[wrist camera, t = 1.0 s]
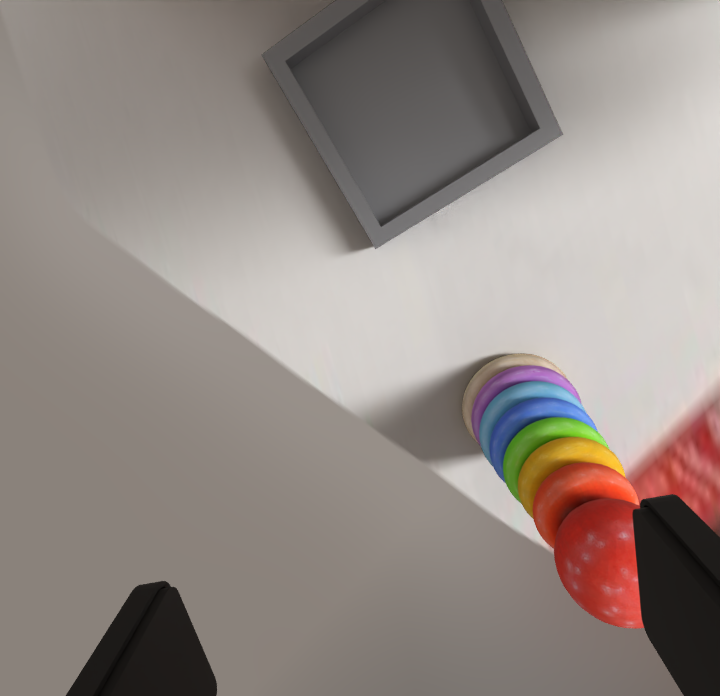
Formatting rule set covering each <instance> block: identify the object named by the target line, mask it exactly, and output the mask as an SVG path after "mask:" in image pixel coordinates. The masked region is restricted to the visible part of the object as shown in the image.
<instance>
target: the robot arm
mask: <svg viewBox="0 0 720 696" xmlns="http://www.w3.org/2000/svg"><path fill="white" fill-rule="evenodd" d="M632 517H633V528H634V539H635V551H636V562H637V573H638V585H639V596H640V607H641V617H642V622H643V626H644V628H645V631H646V633H647V635H648V638H649V639H650V641H651V643H652V644H653V646H654V648H655V649H656V651H657V653H658V654H659V656H660V657H661V659H662V661H663V662H664V664H665V666H666V667H667V669H668V671H669V672H670V674H671V675H672V677H673V679H674V680H675V682H676V684H677V685H678V687H679V688H680V690H681V692H682V693H683V695H684V696H720V537H719V536H718V535H717V534H716V533H715V532H714V531H713V530H712V529H711V528H710V527H709V526H708V525H707V524H706V523H705V522H704V521H703V520H702V519H701V518H700V517H699V516H698V515H697V514H695V513H694V512H693V511H692V510H691V509H690V508H689V507H688V506H687V505H686V504H685V503H684V502H683V501H682V500H681V499H680V498H679V497H678V496H677V495H673V494H671V495H666V496H660V497H654V498H648V499H643V500H641V503H640V508H638V509H634V510H633V512H632ZM216 694H217V683H216V679H215V676H214V674H213V672H212V669H211V667H210V665H209V662H208V660H207V658H206V655H205V653H204V651H203V648H202V646H201V644H200V641H199V639H198V636H197V634H196V632H195V629H194V627H193V625H192V622H191V620H190V618H189V616H188V613H187V611H186V608H185V606H184V604H183V602H182V599H181V597H180V594H179V592H178V590H177V589H176V588H175V587H171V586H170V585H169V583H167V582H166V581H161V582H155V583H149V584H143V585H139V586H137V587H135V589H134V590H133V591H132V592H131V594H130V596H129V597H128V599H127V600H126V602H125V603H124V605H123V606H122V608H121V610H120V611H119V613H118V614H117V616H116V618H115V619H114V621H113V622H112V624H111V625H110V627H109V628H108V630H107V632H106V633H105V635H104V636H103V638H102V639H101V641H100V643H99V644H98V646H97V647H96V649H95V651H94V652H93V654H92V655H91V657H90V659H89V660H88V662H87V663H86V665H85V666H84V668H83V669H82V671H81V673H80V674H79V676H78V678H77V679H76V681H75V682H74V684H73V685H72V687H71V688H70V690H69V691H68V693H67V695H66V696H216Z"/></svg>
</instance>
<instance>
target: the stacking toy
mask: <svg viewBox="0 0 720 696" xmlns="http://www.w3.org/2000/svg"><path fill="white" fill-rule="evenodd" d="M462 412H463V419H464V422H465V425H466V427H467V430H468V431H469V433H470V435H471V436H472V437H473V438H474V440H475V441H476V442H477V443H478V444H479V445H480V446H481V448H482V450H483V453H484V455H485V457H486V458H487V460H488V461H489V463H490V464H491V465H492V466H493V467H494V469H495V471H496V473H497V474H498V476H499V477H500V478H501V479H502V480H503V481H504V482H505V483H506V484H507V487H508V489H509V490H510V492H511V493H512V495H513V496H514V497H515V498H516V499H517V500H518V501H519V502H520V503H521V504H522V505H523V507H524V509H525V510H526V511H527V513H528V514H529V515H530V516H531V517H532V518H533V519H534V522H535V525H536V528H537V530H538V532H539V533H540V535H541V536H542V538H543V539H544V540H545V541H546V543H547V544H549V545H550V546H551V547H552V548H554V556H555V563H556V567H557V571H558V574H559V577H560V579H561V581H562V583H563V585H564V587H565V588H566V590H567V591H568V593H569V594H570V595H571V597H572V598H573V599H574V600H575V602H576V603H577V604H578V605H579V606H580V607H581V608H583V609H584V610H585V611H587V612H588V613H589V614H591V615H592V616H594V617H595V618H597V619H599V620H601V621H603V622H605V623H608V624H611V625H615V626H618V627H624V628H644V626H643V622H642V617H641V607H640V596H639V585H638V573H637V562H636V551H635V539H634V528H633V517H632V512H633V510H634V509H638V508H640V506H639V501H638V497H637V495H636V493H635V490H634V489H633V487H632V485H631V484H630V483H629V481H628V480H627V479H626V478H625V473H624V470H623V467H622V465H621V463H620V461H619V460H618V458H617V457H616V455H615V454H614V453H613V452H612V451H610V450H609V447H608V445H607V444H606V442H605V440H604V439H603V437H602V436H601V435H600V434H599V433H598V431H597V429H596V426H595V424H594V423H593V421H592V420H591V418H590V417H589V416H588V415H587V414H586V412H585V410H584V408H583V406H582V404H581V400H580V397H579V395H578V393H577V391H576V389H575V388H574V387H573V385H572V384H571V383H570V382H569V381H568V379H567V378H566V376H565V375H564V373H563V372H562V371H561V370H560V369H559V368H558V367H557V366H556V365H554V364H553V363H552V362H550V361H548V360H547V359H545V358H542V357H539V356H536V355H532V354H511V355H506V356H503V357H499V358H497V359H495V360H493V361H491V362H489V363H488V364H486V365H485V366H484V367H482V368H481V369H480V370H479V371H478V372H477V373H476V374H475V375H474V376H473V378H472V379H471V381H470V382H469V384H468V386H467V388H466V390H465V393H464V397H463V403H462Z"/></svg>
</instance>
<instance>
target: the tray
mask: <svg viewBox="0 0 720 696" xmlns="http://www.w3.org/2000/svg"><path fill="white" fill-rule="evenodd" d="M262 57H263V58H264V60H265V62H266V63H267V65H268V67H269V68H270V70H271V72H272V74H273V75H274V77H275V79H276V80H277V82H278V84H279V86H280V87H281V89H282V91H283V92H284V94H285V96H286V97H287V99H288V101H289V103H290V104H291V106H292V108H293V109H294V111H295V113H296V114H297V116H298V118H299V120H300V121H301V123H302V125H303V126H304V128H305V130H306V131H307V133H308V135H309V137H310V138H311V140H312V142H313V143H314V145H315V147H316V148H317V150H318V152H319V154H320V155H321V157H322V159H323V160H324V162H325V164H326V166H327V167H328V169H329V171H330V172H331V174H332V176H333V177H334V179H335V181H336V183H337V184H338V186H339V188H340V189H341V191H342V193H343V194H344V196H345V198H346V200H347V201H348V203H349V205H350V206H351V208H352V210H353V211H354V213H355V215H356V217H357V218H358V220H359V222H360V223H361V225H362V227H363V228H364V230H365V232H366V234H367V235H368V237H369V239H370V240H371V242H372V244H373V246H374V247H375V249H376V248H378V247H380V246H381V245H383V244H384V243H386V242H388V241H389V240H391V239H393V238H394V237H396V236H398V235H399V234H401V233H402V232H404V231H406V230H407V229H409V228H411V227H412V226H414V225H416V224H417V223H419V222H421V221H422V220H424V219H425V218H427V217H429V216H430V215H432V214H434V213H435V212H437V211H439V210H440V209H442V208H443V207H445V206H447V205H448V204H450V203H452V202H453V201H455V200H457V199H458V198H460V197H461V196H463V195H465V194H466V193H468V192H470V191H471V190H473V189H475V188H476V187H478V186H479V185H481V184H483V183H484V182H486V181H488V180H489V179H491V178H493V177H494V176H496V175H497V174H499V173H501V172H502V171H504V170H506V169H507V168H509V167H511V166H512V165H514V164H515V163H517V162H519V161H520V160H522V159H524V158H525V157H527V156H529V155H530V154H532V153H533V152H535V151H537V150H538V149H540V148H542V147H543V146H545V145H547V144H548V143H550V142H551V141H553V140H555V139H556V138H558V137H560V136H561V135H563V133H562V131H561V129H560V127H559V124H558V122H557V120H556V118H555V116H554V113H553V111H552V109H551V107H550V105H549V102H548V100H547V98H546V96H545V94H544V91H543V89H542V87H541V85H540V83H539V80H538V78H537V76H536V74H535V72H534V69H533V67H532V65H531V63H530V61H529V58H528V56H527V54H526V52H525V50H524V47H523V45H522V43H521V41H520V39H519V36H518V34H517V32H516V30H515V28H514V25H513V23H512V21H511V19H510V17H509V14H508V12H507V10H506V8H505V6H504V3H503V1H502V0H335V1H334V2H333V3H331V4H330V5H329V6H327V7H326V8H325V9H323V10H322V11H320V12H319V13H318V14H316V15H315V16H314V17H312V18H311V19H310V20H308V21H307V22H305V23H304V24H303V25H301V26H300V27H299V28H297V29H296V30H295V31H293V32H292V33H290V34H289V35H288V36H286V37H285V38H284V39H282V40H281V41H280V42H278V43H277V44H276V45H274V46H273V47H271V48H270V49H269V50H267V51H266V52H265V53H263V54H262Z"/></svg>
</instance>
